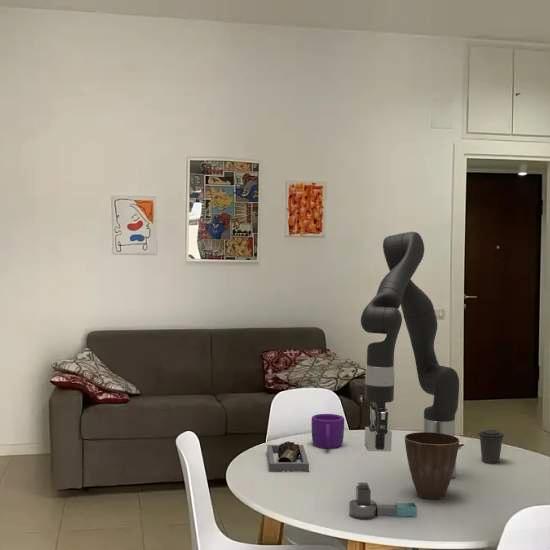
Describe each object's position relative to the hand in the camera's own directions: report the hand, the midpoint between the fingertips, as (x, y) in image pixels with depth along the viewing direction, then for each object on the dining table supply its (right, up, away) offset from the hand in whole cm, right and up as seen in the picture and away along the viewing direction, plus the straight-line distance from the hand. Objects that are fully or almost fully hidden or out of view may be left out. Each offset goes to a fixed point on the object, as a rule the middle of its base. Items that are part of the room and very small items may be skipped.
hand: (377, 445), depth 202 cm
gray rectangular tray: (-23, -15, +43) cm, 51 cm away
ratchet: (0, -16, -6) cm, 17 cm away
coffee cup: (+43, -16, +46) cm, 65 cm away
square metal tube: (0, -1, 0) cm, 1 cm away
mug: (-9, -15, +62) cm, 64 cm away
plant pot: (+16, -16, +11) cm, 25 cm away
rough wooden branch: (-23, -15, +43) cm, 51 cm away
